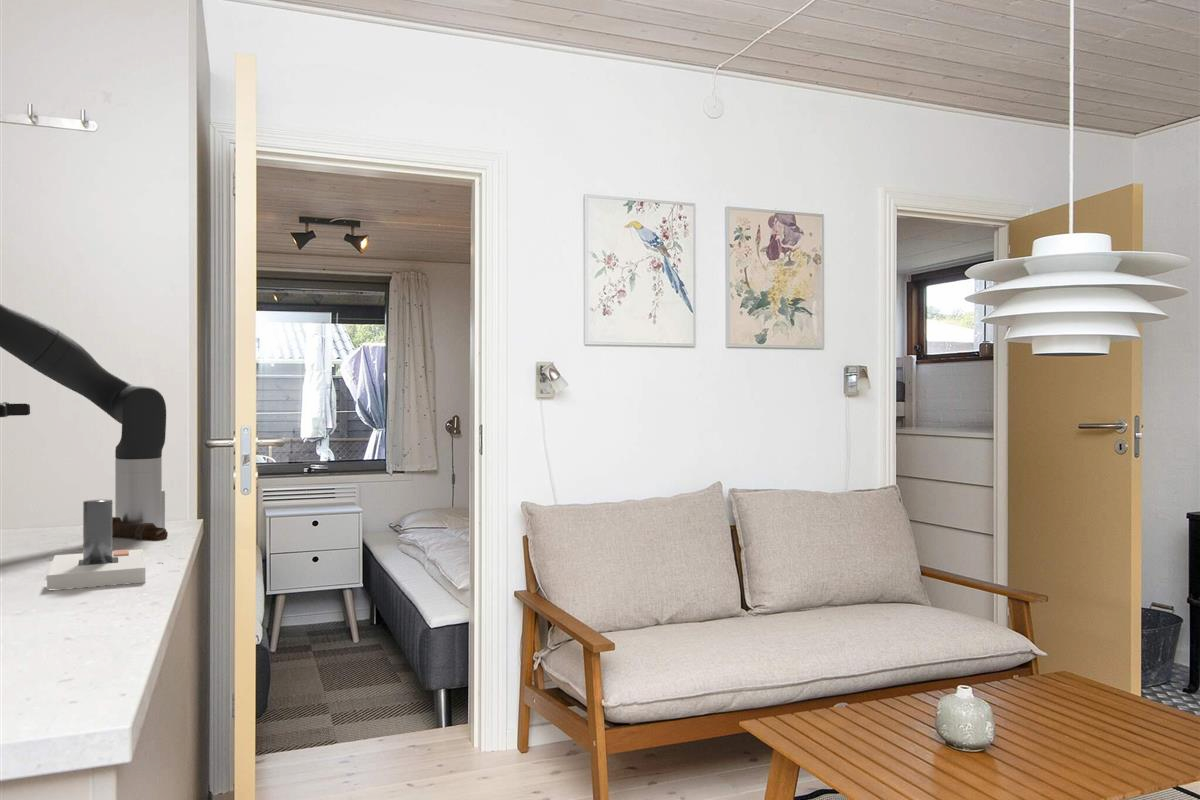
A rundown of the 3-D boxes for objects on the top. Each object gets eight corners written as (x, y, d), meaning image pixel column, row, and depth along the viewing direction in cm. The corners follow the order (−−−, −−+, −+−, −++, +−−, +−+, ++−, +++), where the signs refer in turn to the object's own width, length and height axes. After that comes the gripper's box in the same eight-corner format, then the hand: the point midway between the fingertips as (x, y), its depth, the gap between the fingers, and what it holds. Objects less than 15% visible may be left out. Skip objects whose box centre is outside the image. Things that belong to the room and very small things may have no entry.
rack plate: (54, 569, 159) (54, 553, 159) (142, 562, 166) (142, 547, 166) (46, 591, 141) (46, 573, 141) (145, 582, 148) (145, 565, 148)
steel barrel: (98, 572, 156) (98, 499, 156) (118, 574, 155) (118, 500, 155) (77, 577, 152) (77, 501, 152) (97, 579, 151) (97, 502, 151)
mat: (49, 557, 170) (49, 552, 170) (109, 553, 175) (109, 547, 175) (46, 566, 162) (46, 560, 162) (108, 561, 166) (108, 556, 166)
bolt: (159, 554, 185) (105, 547, 190) (176, 539, 189) (122, 532, 194) (149, 532, 183) (94, 525, 187) (166, 517, 187) (111, 511, 192)
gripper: (-107, 391, 151) (-3, 389, 154) (-59, 390, 165) (35, 389, 168) (-106, 434, 151) (-2, 432, 154) (-58, 430, 165) (36, 428, 168)
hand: (17, 410), depth 161 cm, fingers open, 8 cm apart
